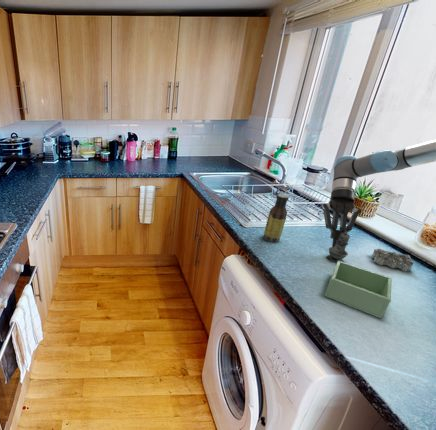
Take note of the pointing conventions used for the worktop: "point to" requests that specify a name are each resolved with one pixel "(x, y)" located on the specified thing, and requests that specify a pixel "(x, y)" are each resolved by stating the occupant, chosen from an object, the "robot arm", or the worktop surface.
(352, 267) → the box
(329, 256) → the dark stone statuette
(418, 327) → the worktop surface
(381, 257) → the egg carton
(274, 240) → the sauce bottle
